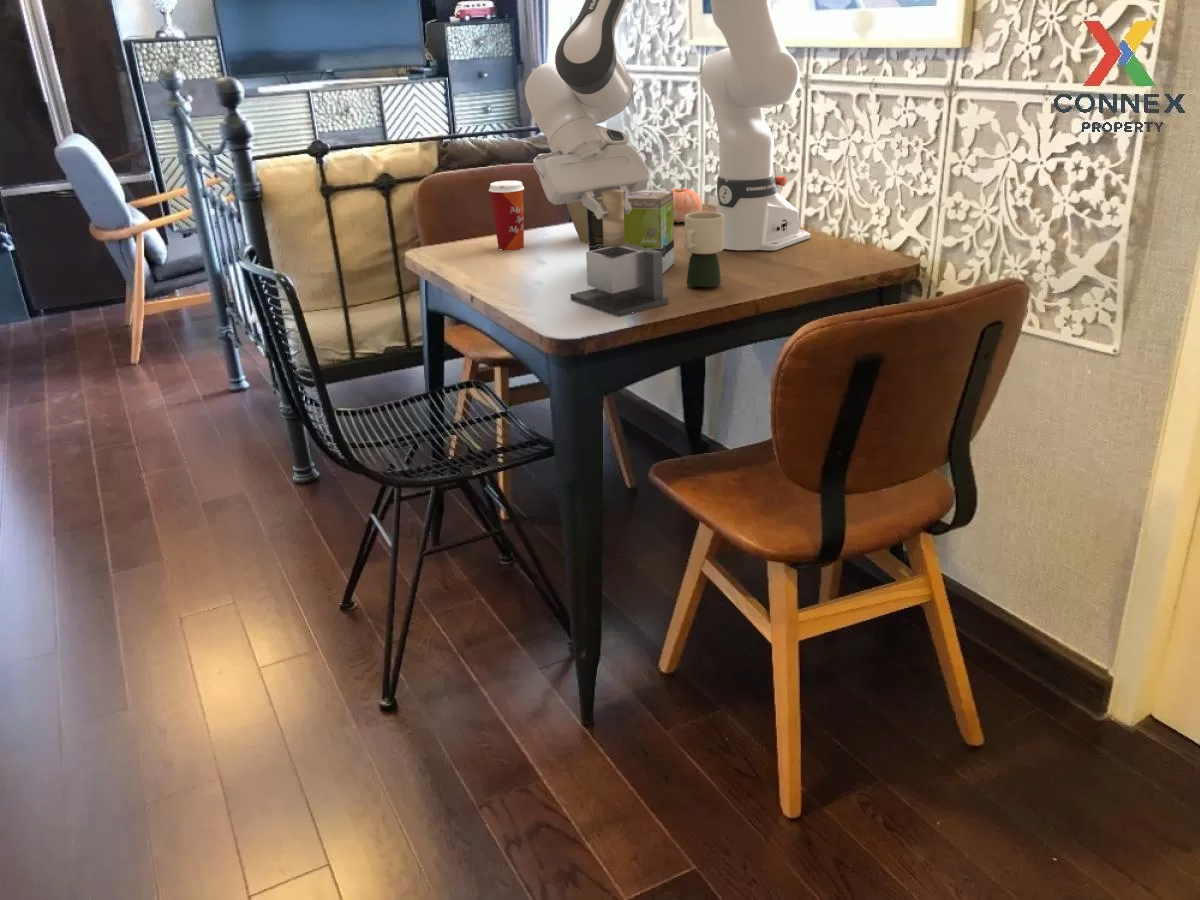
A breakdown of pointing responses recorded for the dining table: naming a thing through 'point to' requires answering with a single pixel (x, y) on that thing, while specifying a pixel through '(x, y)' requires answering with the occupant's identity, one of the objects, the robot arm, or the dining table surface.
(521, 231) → the paper cup
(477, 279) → the dining table surface
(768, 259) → the dining table surface
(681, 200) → the orange pumpkin
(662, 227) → the tea box
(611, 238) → the tan wooden cylinder
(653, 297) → the grey box holder
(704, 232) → the character mug
